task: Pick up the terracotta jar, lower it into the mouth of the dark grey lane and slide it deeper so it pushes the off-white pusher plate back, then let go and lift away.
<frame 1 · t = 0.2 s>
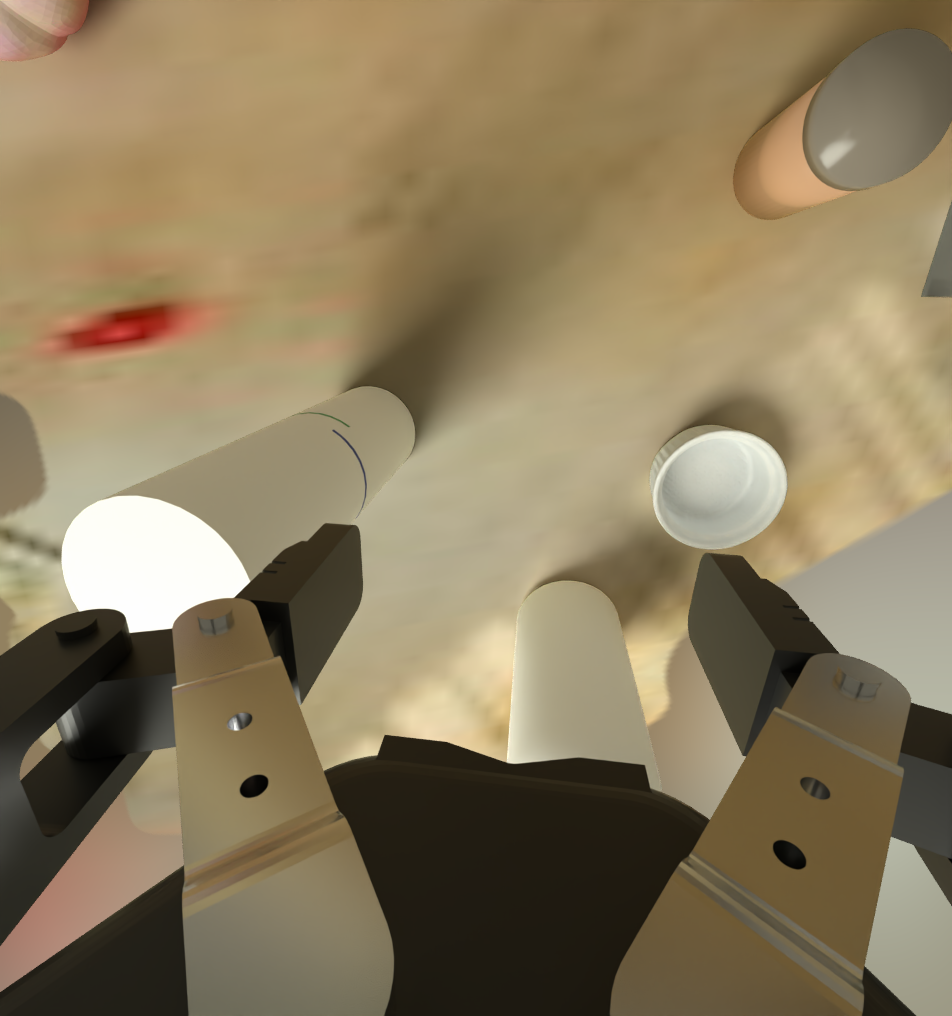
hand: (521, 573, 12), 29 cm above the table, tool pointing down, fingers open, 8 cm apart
alcohol: (566, 617, 46), on the table
ramekin: (700, 473, 40), on the table
decorative fruit: (67, 5, 33), on the table
jar: (779, 170, 32), on the table
cylindrical container: (372, 430, 41), on the table
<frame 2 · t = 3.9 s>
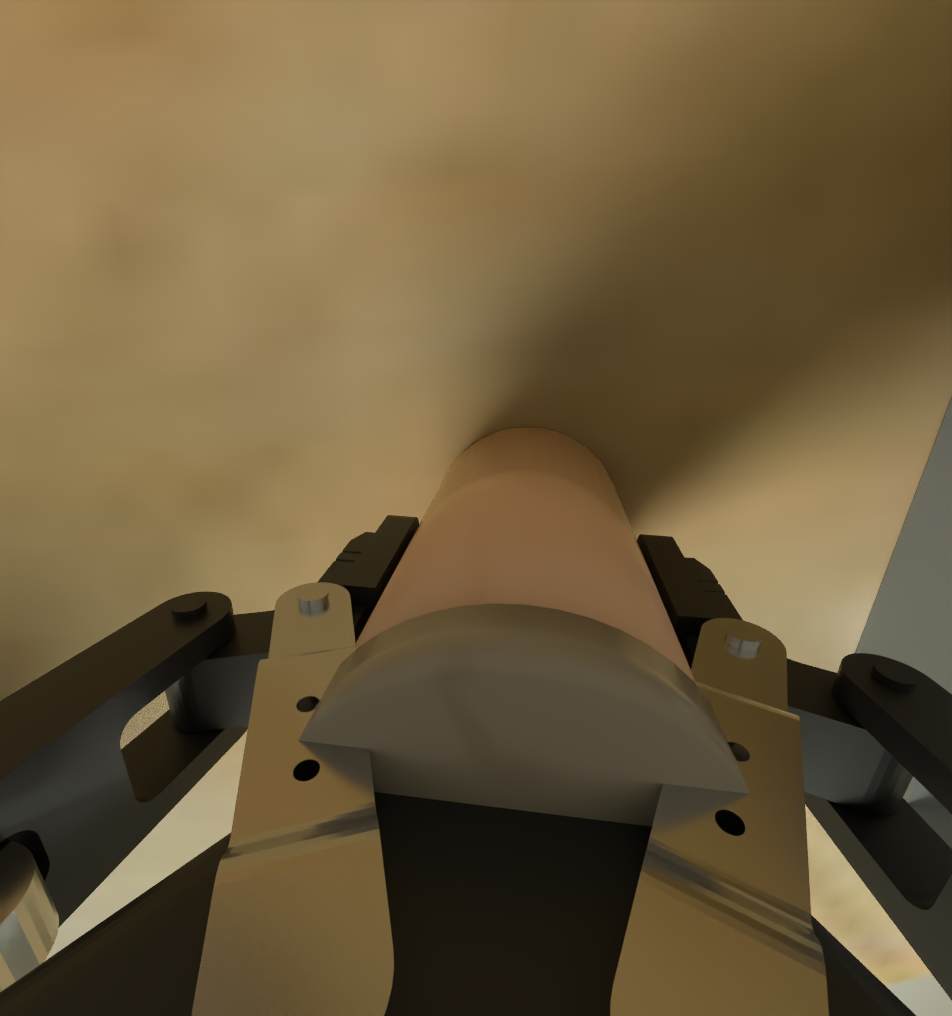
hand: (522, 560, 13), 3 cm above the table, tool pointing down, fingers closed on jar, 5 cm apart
jar: (526, 515, 15), on the table, touching gripper
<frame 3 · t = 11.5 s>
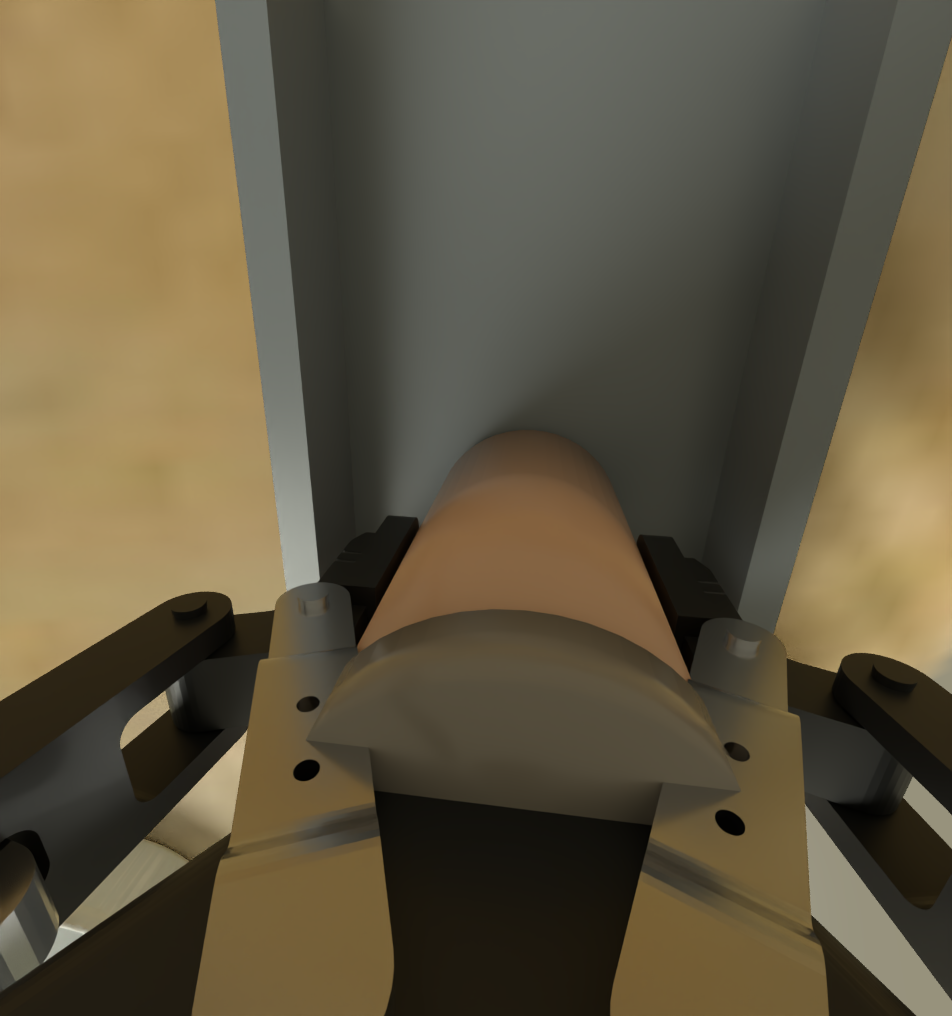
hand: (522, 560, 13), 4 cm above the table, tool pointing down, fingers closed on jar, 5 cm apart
lane: (529, 461, 16), on the table
ramekin: (150, 879, 27), on the table
jar: (525, 517, 16), point 1 cm above the table, touching gripper, pusher
when the fingers open (4 cm above the table, at t = 12.4 s): jar stays where it is, resting on lane.
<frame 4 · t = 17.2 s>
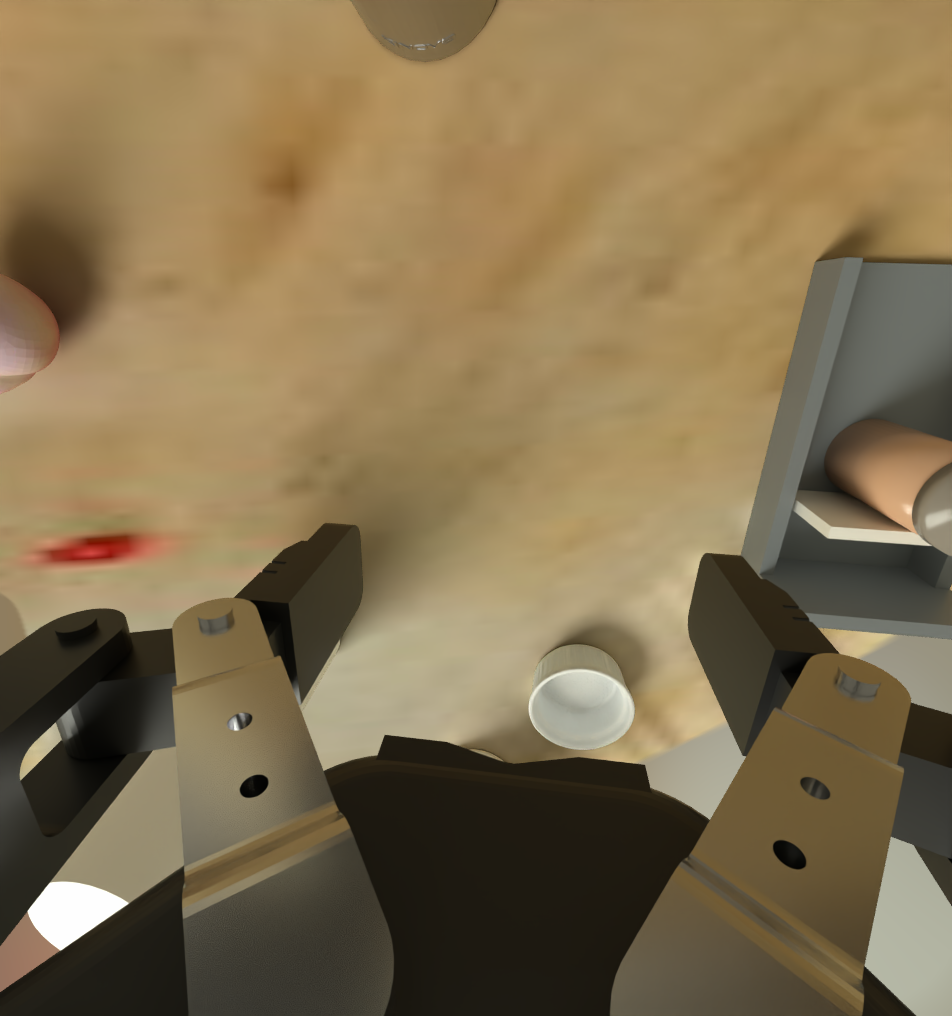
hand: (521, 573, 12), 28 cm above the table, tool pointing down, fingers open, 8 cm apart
lane: (868, 434, 37), on the table
pusher: (882, 516, 35), point 4 cm above the table, slide at 6.3 cm
ramekin: (577, 675, 48), on the table
decorative fruit: (43, 325, 41), on the table
jar: (865, 456, 37), point 1 cm above the table, touching lane
cylindrical container: (304, 632, 49), on the table
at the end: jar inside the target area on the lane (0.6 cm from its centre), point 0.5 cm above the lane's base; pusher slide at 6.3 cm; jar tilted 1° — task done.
